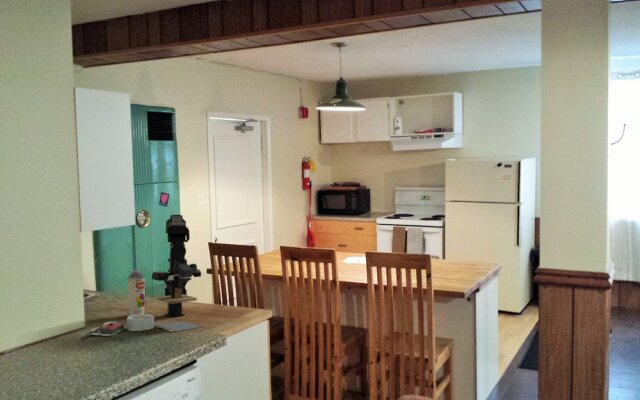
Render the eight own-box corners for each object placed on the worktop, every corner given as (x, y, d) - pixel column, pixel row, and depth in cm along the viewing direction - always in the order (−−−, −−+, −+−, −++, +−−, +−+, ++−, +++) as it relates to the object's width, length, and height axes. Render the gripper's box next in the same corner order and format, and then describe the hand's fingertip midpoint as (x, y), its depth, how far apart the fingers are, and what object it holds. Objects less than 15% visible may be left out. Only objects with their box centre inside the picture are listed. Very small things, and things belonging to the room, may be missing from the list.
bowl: (122, 328, 217) (122, 316, 217) (145, 324, 224) (145, 313, 224) (135, 333, 211) (135, 321, 211) (158, 329, 218) (158, 317, 217)
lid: (156, 299, 221) (156, 288, 221) (181, 296, 229) (181, 285, 229) (171, 303, 213) (171, 291, 213) (196, 300, 221) (196, 288, 221)
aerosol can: (136, 318, 235) (137, 270, 235) (123, 316, 238) (124, 269, 238) (147, 315, 241) (148, 268, 241) (135, 314, 244) (136, 267, 244)
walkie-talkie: (103, 329, 218) (78, 342, 198) (103, 317, 218) (78, 329, 198) (126, 329, 217) (102, 343, 198) (126, 318, 217) (103, 330, 197)
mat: (154, 326, 221) (154, 325, 221) (183, 322, 230) (183, 321, 230) (172, 332, 212) (172, 331, 212) (201, 327, 221) (201, 326, 221)
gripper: (166, 259, 209) (165, 302, 209) (209, 256, 222) (208, 296, 222) (151, 257, 216) (150, 298, 216) (193, 254, 230) (192, 293, 230)
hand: (176, 296), depth 221 cm, fingers closed on lid, 3 cm apart
